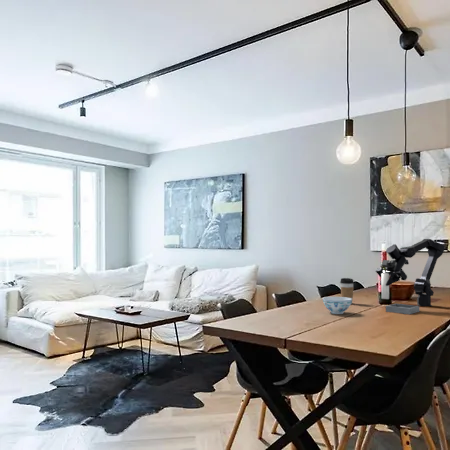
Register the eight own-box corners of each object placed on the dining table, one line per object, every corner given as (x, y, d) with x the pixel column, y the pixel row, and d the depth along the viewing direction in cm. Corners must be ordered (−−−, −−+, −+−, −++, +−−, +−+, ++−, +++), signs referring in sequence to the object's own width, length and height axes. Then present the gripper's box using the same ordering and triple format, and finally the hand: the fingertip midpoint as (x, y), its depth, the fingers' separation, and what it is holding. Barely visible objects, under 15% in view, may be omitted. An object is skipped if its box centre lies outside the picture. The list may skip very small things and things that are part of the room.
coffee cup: (352, 302, 277) (352, 278, 277) (355, 304, 269) (355, 279, 269) (339, 302, 278) (338, 278, 278) (341, 304, 269) (341, 279, 270)
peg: (386, 297, 254) (386, 273, 254) (390, 298, 250) (390, 273, 250) (380, 298, 253) (379, 273, 253) (383, 299, 249) (383, 273, 249)
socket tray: (395, 308, 252) (395, 303, 252) (419, 311, 243) (419, 306, 243) (385, 311, 242) (385, 306, 243) (409, 314, 233) (409, 308, 233)
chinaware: (355, 315, 230) (355, 300, 230) (326, 315, 230) (326, 300, 230) (347, 310, 245) (347, 296, 245) (319, 310, 245) (319, 296, 245)
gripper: (377, 254, 262) (363, 274, 257) (403, 255, 245) (388, 276, 240) (388, 267, 265) (374, 287, 260) (413, 269, 248) (399, 290, 243)
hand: (383, 285), depth 251 cm, fingers closed on peg, 4 cm apart
